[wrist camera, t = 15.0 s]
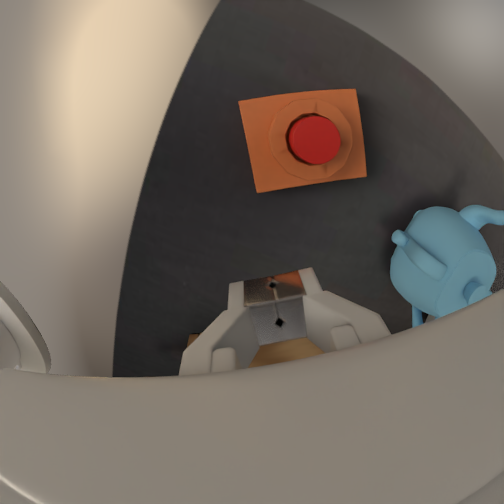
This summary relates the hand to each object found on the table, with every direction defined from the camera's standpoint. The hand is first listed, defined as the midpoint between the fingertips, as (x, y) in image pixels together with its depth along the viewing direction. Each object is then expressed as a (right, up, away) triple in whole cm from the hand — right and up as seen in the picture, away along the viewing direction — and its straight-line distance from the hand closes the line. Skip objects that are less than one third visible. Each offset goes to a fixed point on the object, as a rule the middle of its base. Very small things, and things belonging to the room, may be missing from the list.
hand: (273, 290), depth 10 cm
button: (+4, +10, +10) cm, 14 cm away
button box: (+4, +12, +13) cm, 18 cm away
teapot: (+20, +3, +18) cm, 27 cm away
